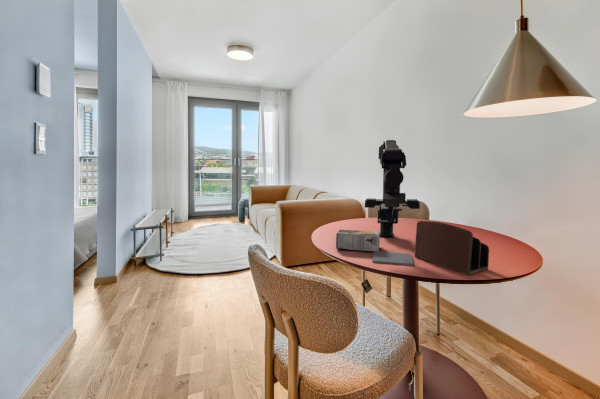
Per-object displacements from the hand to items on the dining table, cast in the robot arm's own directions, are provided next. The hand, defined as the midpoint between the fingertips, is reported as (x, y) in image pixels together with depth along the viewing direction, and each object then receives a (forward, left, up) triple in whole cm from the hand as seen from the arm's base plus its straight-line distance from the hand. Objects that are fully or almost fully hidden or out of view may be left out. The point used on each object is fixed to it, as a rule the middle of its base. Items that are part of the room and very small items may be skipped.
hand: (390, 226), depth 104 cm
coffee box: (-3, -4, -7) cm, 8 cm away
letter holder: (+6, +19, -10) cm, 22 cm away
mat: (+7, +1, -10) cm, 12 cm away
